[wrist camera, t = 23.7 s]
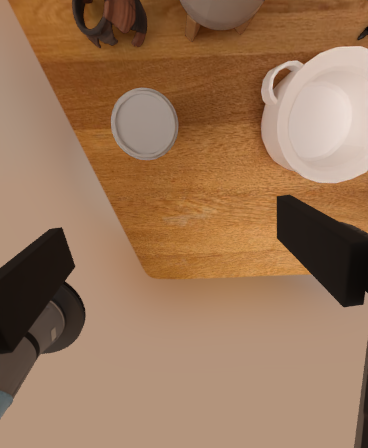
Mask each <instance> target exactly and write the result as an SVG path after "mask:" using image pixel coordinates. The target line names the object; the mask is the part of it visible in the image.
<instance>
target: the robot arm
mask: <svg viewBox="0 0 368 448" xmlns="http://www.w3.org/2000/svg"><path fill="white" fill-rule="evenodd" d="M277 239H278V240H279V241H280V242H281V243H282V244H283V245H284V246H285V247H286V248H287V249H288V250H289V251H290V252H291V253H292V254H293V255H294V256H295V257H296V258H297V259H298V260H299V261H300V262H301V263H302V265H303V266H304V267H305V268H306V269H307V270H308V271H309V272H310V273H311V274H312V275H313V276H314V277H315V278H316V279H317V280H318V281H319V282H320V283H321V284H322V285H323V286H324V287H325V288H326V289H327V290H328V292H329V293H330V294H331V295H332V296H333V297H334V298H335V299H336V300H337V301H338V302H339V303H340V304H341V305H342V306H343V307H349V306H356V305H363V303H364V296H365V291H366V292H367V293H368V233H366V232H364V231H361V229H359V228H357V227H355V226H353V225H350V224H346V223H343V222H338V221H336V220H335V219H333V218H331V217H329V216H327V215H326V214H324V213H322V212H320V211H318V210H316V209H315V208H313V207H311V206H309V205H307V204H306V203H304V202H302V201H300V200H298V199H297V198H295V197H293V196H291V195H284V196H277ZM74 268H75V264H74V261H73V258H72V255H71V252H70V250H69V247H68V244H67V241H66V238H65V235H64V232H63V229H62V227H61V228H54V229H49V230H48V231H47V232H45V233H44V234H43V235H42V236H40V237H39V238H38V239H36V241H34V242H33V243H32V244H30V245H29V246H28V247H26V248H25V249H24V250H23V251H21V252H20V253H19V254H17V255H16V256H15V257H14V258H12V259H11V260H10V261H9V262H7V263H6V264H5V265H4V266H2V267H1V268H0V418H1V417H2V416H3V414H4V413H5V411H6V410H7V408H8V407H9V406H10V405H11V404H12V402H13V399H14V397H15V395H16V393H17V392H18V390H19V388H20V387H21V385H22V383H23V382H24V380H25V378H26V376H27V375H28V373H29V371H30V370H31V368H32V366H33V365H34V363H35V361H36V360H37V358H38V356H39V355H40V354H42V353H43V352H44V351H45V350H46V349H47V348H48V347H49V346H50V345H51V344H53V343H54V342H55V341H56V340H57V339H58V338H59V336H60V335H61V334H62V332H63V330H64V328H65V325H66V316H65V313H64V310H63V309H62V307H61V306H60V305H59V303H58V302H57V301H56V300H54V299H53V296H54V295H55V294H56V292H57V291H58V290H59V288H60V287H61V285H62V284H63V283H64V281H65V280H66V279H67V277H68V276H69V274H70V273H71V272H72V270H73V269H74ZM354 448H368V342H367V350H366V358H365V366H364V374H363V383H362V389H361V398H360V405H359V414H358V421H357V429H356V437H355V445H354Z"/></svg>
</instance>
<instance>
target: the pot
mask: <svg viewBox="0 0 368 448" xmlns="http://www.w3.org/2000/svg"><path fill="white" fill-rule="evenodd" d="M283 68H287V69H289V70H290V71H291V72H290V73H289V74H288V75H287V76H286V77H285V78H284V79H282V80H281V81H280V82H279V83H278V84H277V86H276V87H275V88H274V89H272V86H273V80H274V77H275V76H276V74H277V73H278V71H279V70H281V69H283ZM261 94H262V100H263V101H264V102H265V103H266V105H265V108H264V112H263V115H262V121H261V134H262V140H263V142H264V145H265V147H266V150H267V152H268V153H269V155H270V156H271V158H272V159H273V160H274V161H275V162H276V163H278V164H279V165H281V166H282V167H284V168H286V169H288V170H291V171H295V172H297V173H298V174H300V175H301V176H302V177H304V178H306V179H309V180H312V181H315V182H318V183H338V182H342V181H346V180H349V179H353V178H355V177H357V176H359V175H361V174H363V173H365V172H367V171H368V49H367V48H364V47H362V46H354V47H336V48H333V49H330V50H327V51H325V52H322V53H320V54H318V55H317V56H315V57H314V58H312V59H311V60H310V61H308V62H307V63H305V64H302V63H301V62H299V61H288V62H286V63H283V64H281V65H279V66H277V67H275V68H273V69H272V70H270V71H268V73H267V75H266V76H265V78H264V79H263V83H262V89H261Z"/></svg>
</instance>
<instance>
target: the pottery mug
mask: <svg viewBox="0 0 368 448" xmlns="http://www.w3.org/2000/svg"><path fill="white" fill-rule="evenodd" d="M91 2H92V0H72V9H73V15H74V18H75V21H76V24H77V26H78V28H79V29H80V30H81V31H82V32H83V33H84V34H86V36H87V37H88V38H89V39H90V40H91V41H92V42H93V43H94V44H95V45H96V46H97V47H99V48H101V46H100V44H99V39H100V40H101V41H102V42H104V43H108V44H110V45H115V44H117V43H118V41H117V39H116V38H115V37H114V34H113V30H112V24H113V25H114V26H116V27H117V28H118V29H119V30H120V31H121V32H122V33H128V32H129V30H130V29H131V30H135V31H137V32H136V35H135V37H134V39H133V41H132V45H134V46H137V47H140V46H141V44H142V43H143V41H144V38H145V35H146V31H147V16H146V13H145V11H144V8H143V7H142V4H141V2H140V0H105V6H104V12H103V17H102V19H101V21H100V23H99V24H98V25H97V26H96V27H95V28H93V29H88V28H87V27H86V26H85V23H84V18H83V13H84V7H85V3H91Z"/></svg>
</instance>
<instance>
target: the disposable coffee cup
mask: <svg viewBox="0 0 368 448" xmlns="http://www.w3.org/2000/svg"><path fill="white" fill-rule="evenodd" d="M111 128H112V133H113V135H114V138H115V140H116V142H117V143H118V145H119V147H120V148H121V149H122V150H123V151H124V152H126V153H127V154H129V155H130V156H132V157H134V158H137V159H141V160H152V159H156V158H159V157H161V156H163V155H164V154H166V153H167V152H168V151H169V150H170V149H171V147H172V146H173V144H174V143H175V140H176V138H177V134H178V118H177V114H176V111H175V109H174V107H173V105H172V104H171V102H170V101H169V100H168V99H167V98H166V97H165V96H164V95H163V94H161V93H160V92H158V91H156V90H153V89H149V88H137V89H133V90H130V91H128V92H127V93H125V94H124V95H123V96H121V97H120V98H119V100H118V101H117V103H116V104H115V106H114V108H113V111H112V116H111Z"/></svg>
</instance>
